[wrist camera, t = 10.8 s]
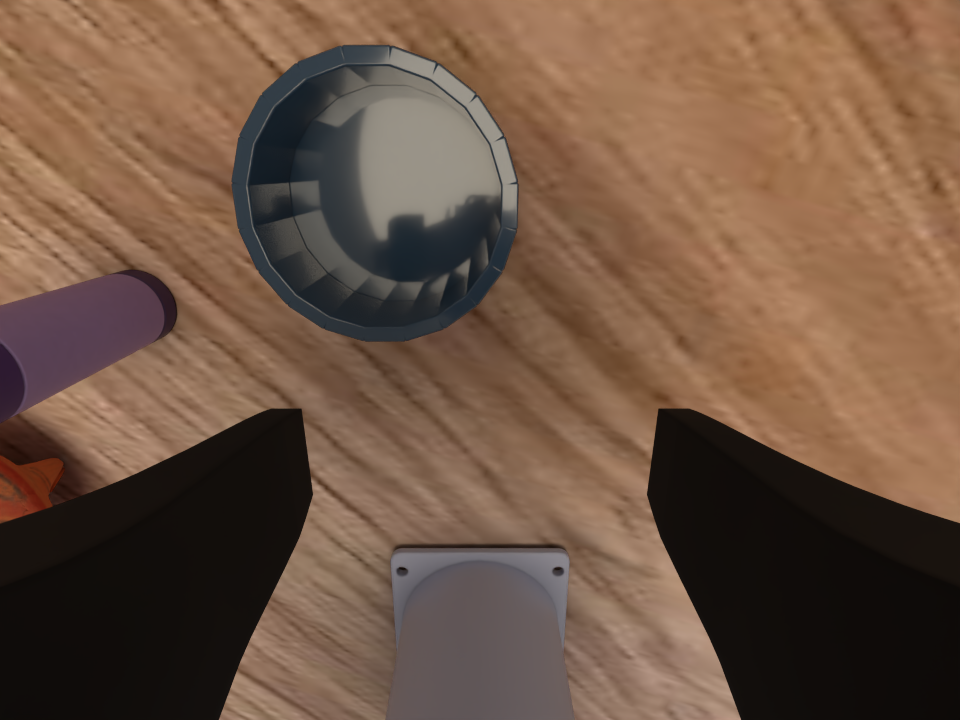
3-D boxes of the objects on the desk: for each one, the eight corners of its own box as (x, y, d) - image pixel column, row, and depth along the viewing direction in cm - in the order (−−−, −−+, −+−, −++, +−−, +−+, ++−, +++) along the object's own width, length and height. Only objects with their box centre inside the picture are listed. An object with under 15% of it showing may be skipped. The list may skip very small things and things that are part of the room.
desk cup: (508, 310, 21) (515, 341, 17) (295, 310, 21) (253, 341, 17) (513, 70, 18) (521, 44, 14) (267, 70, 18) (209, 44, 14)
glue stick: (183, 340, 21) (0, 446, 13) (111, 340, 21) (-116, 446, 13) (169, 269, 20) (-38, 336, 12) (94, 269, 20) (-163, 336, 12)
